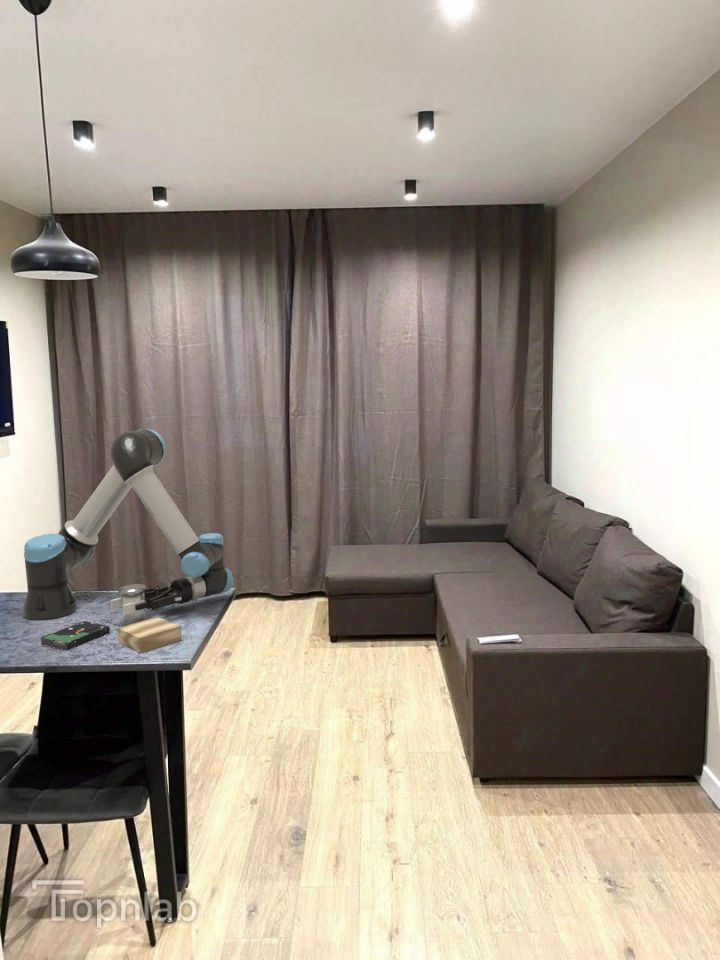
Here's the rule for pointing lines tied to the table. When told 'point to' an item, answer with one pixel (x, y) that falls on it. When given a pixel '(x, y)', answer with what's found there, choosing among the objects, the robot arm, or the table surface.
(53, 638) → the disk drive
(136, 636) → the stand
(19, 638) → the table surface
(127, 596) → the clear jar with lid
